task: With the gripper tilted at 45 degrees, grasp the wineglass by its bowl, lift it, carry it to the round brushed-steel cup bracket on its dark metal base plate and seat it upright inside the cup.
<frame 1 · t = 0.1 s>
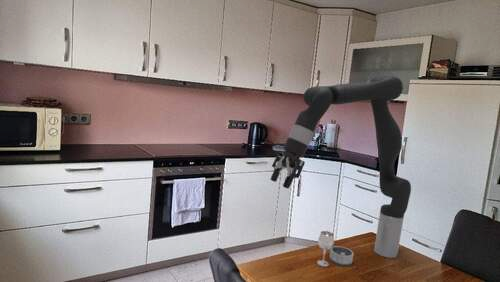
hand: (278, 184, 115), 31 cm above the table, tool tilted 20°, fingers open, 8 cm apart
wineglass: (322, 263, 129), on the table
cup bracket: (340, 260, 133), on the table
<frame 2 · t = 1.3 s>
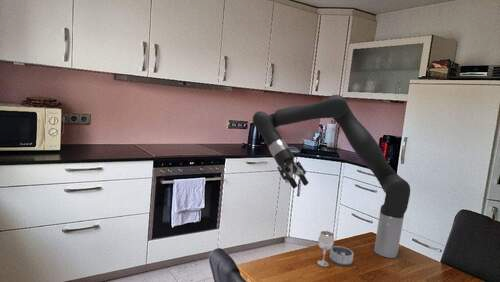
hand: (301, 185, 136), 27 cm above the table, tool tilted 45°, fingers open, 8 cm apart
nothing on the table moved.
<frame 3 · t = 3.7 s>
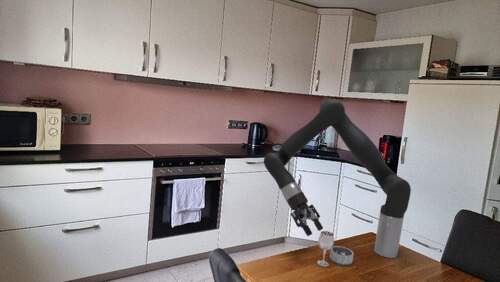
hand: (315, 232, 131), 11 cm above the table, tool tilted 45°, fingers open, 8 cm apart
nothing on the table moved.
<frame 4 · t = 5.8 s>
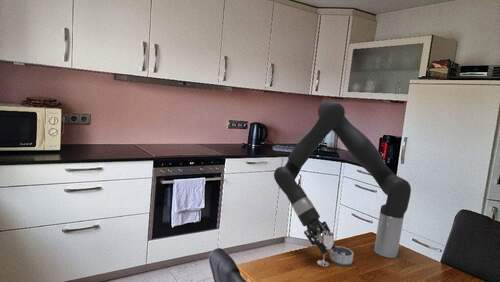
hand: (329, 250, 127), 6 cm above the table, tool tilted 45°, fingers closed on wineglass, 5 cm apart
wineglass: (322, 263, 129), on the table, touching gripper
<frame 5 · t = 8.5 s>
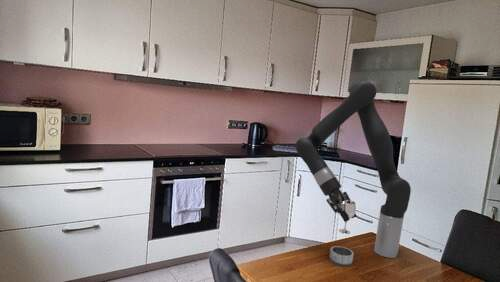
hand: (350, 218, 129), 18 cm above the table, tool tilted 45°, fingers closed on wineglass, 5 cm apart
wineglass: (344, 232, 131), point 12 cm above the table, touching gripper
when the fingers open (8 cm above the table, at t = 11.1 s): wineglass drops 1 cm, resting on cup bracket.
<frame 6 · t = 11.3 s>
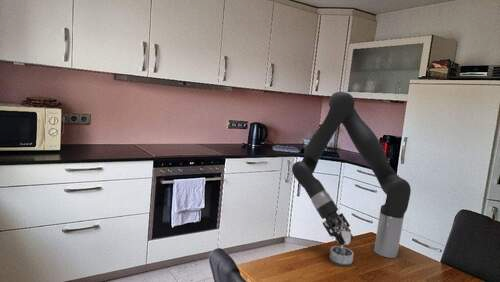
hand: (347, 241, 131), 8 cm above the table, tool tilted 45°, fingers open, 7 cm apart
wineglass: (340, 258, 132), point 1 cm above the table, touching cup bracket
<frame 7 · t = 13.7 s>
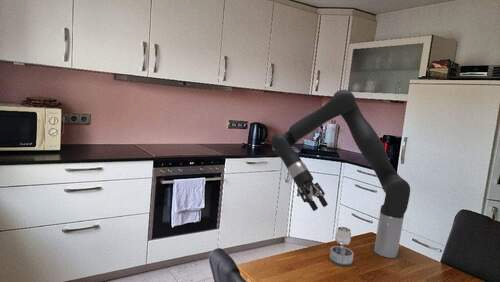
hand: (321, 207, 137), 18 cm above the table, tool tilted 45°, fingers open, 8 cm apart
nothing on the table moved.
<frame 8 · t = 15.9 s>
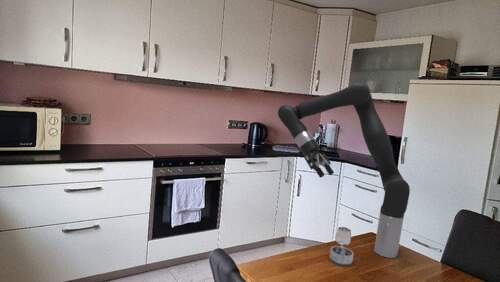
hand: (327, 175, 141), 31 cm above the table, tool tilted 45°, fingers open, 8 cm apart
nothing on the table moved.
at the end: wineglass 0.4 cm off-centre on the cup bracket, point 0.8 cm above the cup bracket's base; wineglass tilted 0°; the gripper is holding nothing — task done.
